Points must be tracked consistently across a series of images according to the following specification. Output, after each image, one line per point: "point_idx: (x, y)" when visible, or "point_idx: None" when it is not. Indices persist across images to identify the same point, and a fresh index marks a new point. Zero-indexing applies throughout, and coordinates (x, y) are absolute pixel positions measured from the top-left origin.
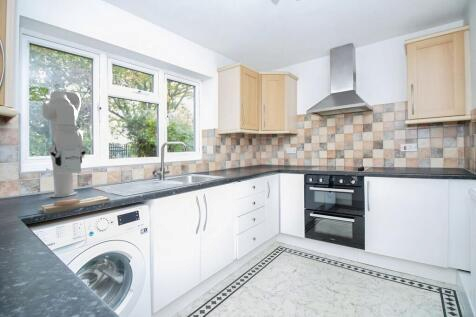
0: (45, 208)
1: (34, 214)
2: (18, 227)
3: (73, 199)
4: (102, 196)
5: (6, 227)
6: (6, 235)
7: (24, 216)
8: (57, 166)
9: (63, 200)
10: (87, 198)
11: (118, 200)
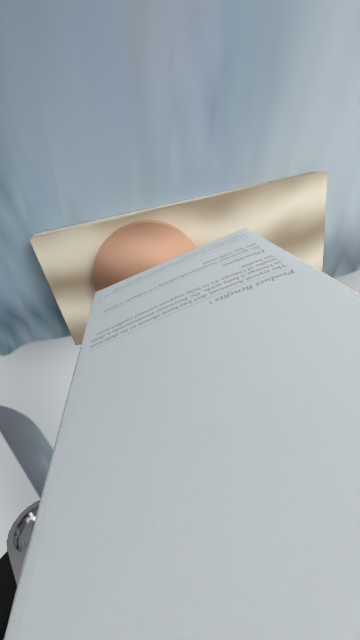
0: (69, 328)
1: (33, 315)
2: (41, 448)
3: (178, 242)
4: (323, 196)
5: (6, 434)
6: (38, 489)
7: (3, 326)
8: (84, 336)
9: (131, 232)
10: (248, 197)
11: (350, 269)
